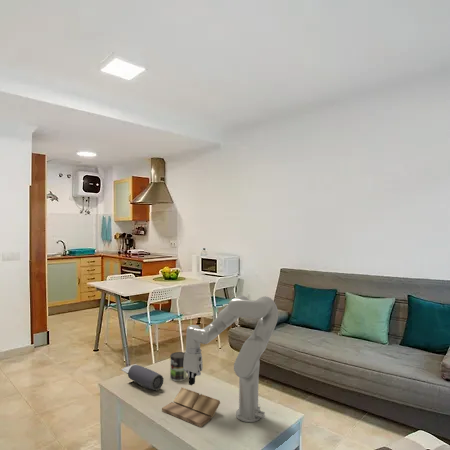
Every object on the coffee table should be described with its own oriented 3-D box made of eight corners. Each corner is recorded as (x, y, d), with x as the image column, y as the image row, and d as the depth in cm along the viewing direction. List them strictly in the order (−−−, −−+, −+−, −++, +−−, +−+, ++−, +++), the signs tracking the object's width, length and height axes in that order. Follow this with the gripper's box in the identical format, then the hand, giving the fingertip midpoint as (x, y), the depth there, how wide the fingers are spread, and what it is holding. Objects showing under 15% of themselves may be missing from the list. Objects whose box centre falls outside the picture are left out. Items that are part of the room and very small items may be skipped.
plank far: (200, 395, 184) (199, 393, 183) (191, 409, 178) (190, 407, 177) (182, 389, 190) (181, 387, 190) (174, 402, 185) (173, 400, 184)
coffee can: (177, 382, 210) (177, 359, 210) (166, 377, 217) (167, 354, 217) (190, 377, 217) (190, 354, 217) (179, 372, 224) (180, 350, 225)
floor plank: (210, 419, 170) (211, 416, 170) (200, 427, 163) (200, 423, 163) (172, 404, 184) (172, 401, 184) (161, 411, 177) (161, 407, 177)
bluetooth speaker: (164, 389, 202) (164, 371, 202) (151, 394, 194) (151, 376, 194) (139, 378, 216) (140, 361, 216) (127, 383, 209) (127, 366, 209)
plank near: (220, 402, 176) (219, 400, 175) (212, 417, 171) (211, 415, 170) (201, 395, 183) (200, 393, 182) (193, 410, 177) (192, 408, 177)
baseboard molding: (147, 386, 205) (163, 380, 214) (147, 381, 205) (163, 375, 214) (119, 371, 227) (135, 366, 235) (119, 367, 227) (135, 362, 235)
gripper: (208, 350, 184) (207, 385, 184) (186, 344, 192) (185, 377, 192) (199, 354, 178) (198, 390, 178) (177, 348, 186) (176, 382, 186)
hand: (191, 384), depth 185 cm, fingers closed
